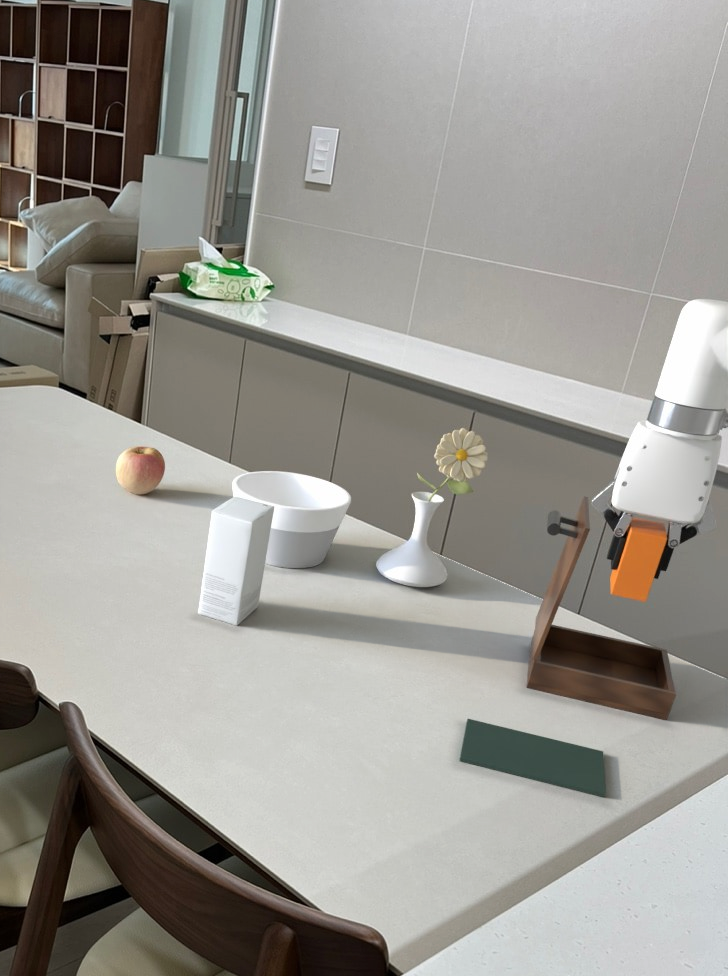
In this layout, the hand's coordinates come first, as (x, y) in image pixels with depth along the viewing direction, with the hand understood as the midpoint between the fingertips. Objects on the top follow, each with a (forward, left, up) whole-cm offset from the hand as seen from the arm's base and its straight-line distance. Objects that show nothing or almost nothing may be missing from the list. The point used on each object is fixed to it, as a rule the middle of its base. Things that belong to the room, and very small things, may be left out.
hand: (634, 569), depth 126 cm
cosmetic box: (+49, -5, -20) cm, 53 cm away
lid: (+7, -10, -6) cm, 13 cm away
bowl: (+48, -33, -20) cm, 62 cm away
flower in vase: (+26, -33, -20) cm, 46 cm away
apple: (+79, -48, -20) cm, 95 cm away
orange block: (0, 0, -3) cm, 3 cm away
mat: (+6, +16, -19) cm, 26 cm away
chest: (-1, -10, -19) cm, 22 cm away
